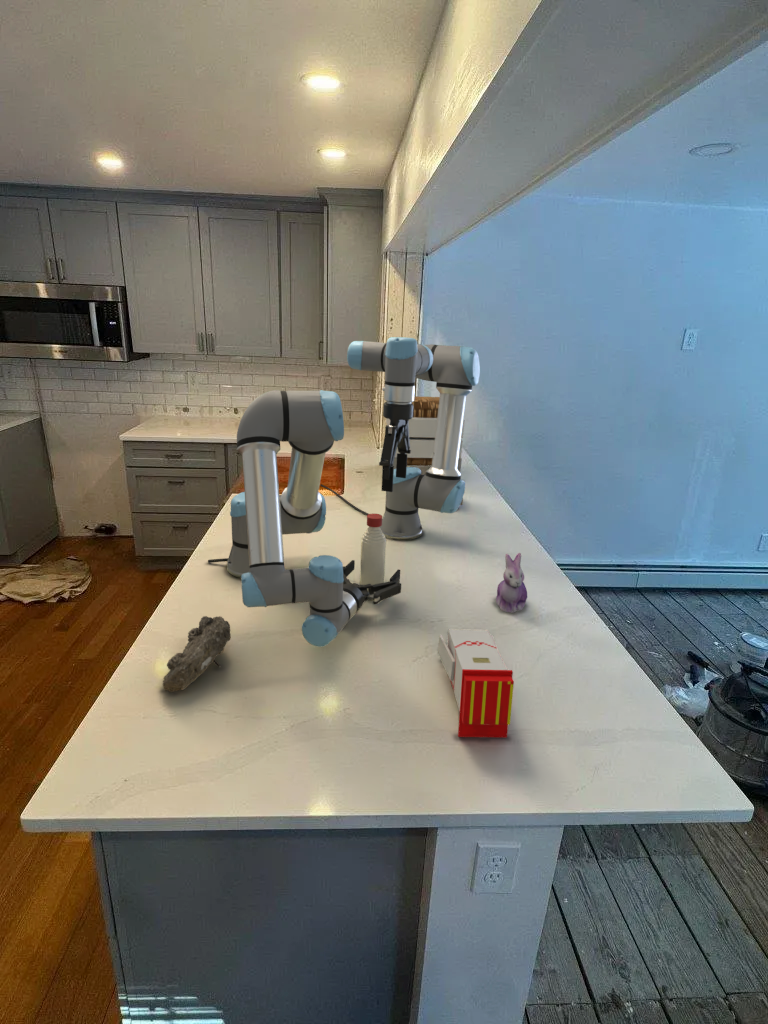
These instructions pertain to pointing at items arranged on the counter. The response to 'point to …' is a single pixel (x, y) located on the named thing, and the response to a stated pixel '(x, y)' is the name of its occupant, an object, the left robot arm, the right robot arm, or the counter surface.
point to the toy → (478, 682)
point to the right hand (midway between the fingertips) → (394, 484)
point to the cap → (374, 520)
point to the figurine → (512, 586)
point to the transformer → (423, 432)
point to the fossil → (197, 653)
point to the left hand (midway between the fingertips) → (375, 569)
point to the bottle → (372, 556)
